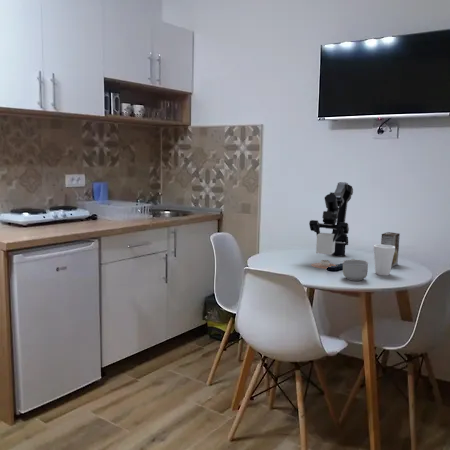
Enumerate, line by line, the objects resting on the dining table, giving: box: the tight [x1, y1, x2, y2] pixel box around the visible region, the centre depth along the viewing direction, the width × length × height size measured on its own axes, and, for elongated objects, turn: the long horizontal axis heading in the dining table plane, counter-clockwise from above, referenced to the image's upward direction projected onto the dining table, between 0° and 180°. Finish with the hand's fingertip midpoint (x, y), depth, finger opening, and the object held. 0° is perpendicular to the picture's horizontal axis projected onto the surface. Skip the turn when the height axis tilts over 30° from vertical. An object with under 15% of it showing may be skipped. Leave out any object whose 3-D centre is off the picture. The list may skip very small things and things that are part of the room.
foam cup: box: [373, 243, 395, 276], centre depth 213 cm, size 10×9×13 cm
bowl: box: [320, 259, 330, 267], centre depth 225 cm, size 4×4×2 cm
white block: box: [315, 232, 335, 256], centre depth 224 cm, size 7×7×9 cm
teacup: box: [342, 258, 369, 282], centre depth 204 cm, size 14×11×8 cm
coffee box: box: [380, 231, 401, 268], centre depth 233 cm, size 9×6×16 cm
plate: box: [310, 262, 337, 270], centre depth 225 cm, size 13×13×1 cm
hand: (325, 240), depth 222 cm, fingers closed on white block, 7 cm apart
